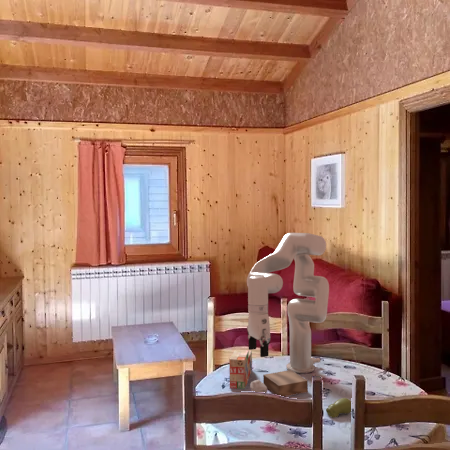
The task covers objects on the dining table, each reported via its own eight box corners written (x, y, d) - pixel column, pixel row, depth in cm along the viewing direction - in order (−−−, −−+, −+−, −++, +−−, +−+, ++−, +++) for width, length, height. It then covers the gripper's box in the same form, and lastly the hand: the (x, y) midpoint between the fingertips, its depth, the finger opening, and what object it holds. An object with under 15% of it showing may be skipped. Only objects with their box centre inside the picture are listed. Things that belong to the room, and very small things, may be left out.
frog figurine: (256, 393, 189) (256, 376, 189) (271, 398, 185) (270, 380, 185) (246, 398, 185) (246, 381, 184) (261, 403, 180) (261, 385, 180)
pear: (354, 399, 169) (331, 409, 166) (356, 413, 170) (333, 423, 167) (345, 393, 175) (322, 402, 171) (347, 407, 175) (324, 416, 172)
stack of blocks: (238, 370, 216) (238, 343, 216) (252, 370, 215) (252, 343, 215) (229, 388, 196) (229, 358, 195) (244, 389, 194) (244, 359, 194)
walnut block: (290, 381, 203) (290, 369, 202) (307, 392, 191) (307, 380, 190) (263, 386, 198) (263, 374, 197) (278, 398, 186) (278, 385, 185)
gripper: (278, 312, 177) (278, 358, 177) (256, 303, 192) (256, 345, 193) (259, 314, 174) (260, 360, 174) (239, 305, 189) (239, 347, 190)
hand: (258, 352), depth 184 cm, fingers open, 9 cm apart
